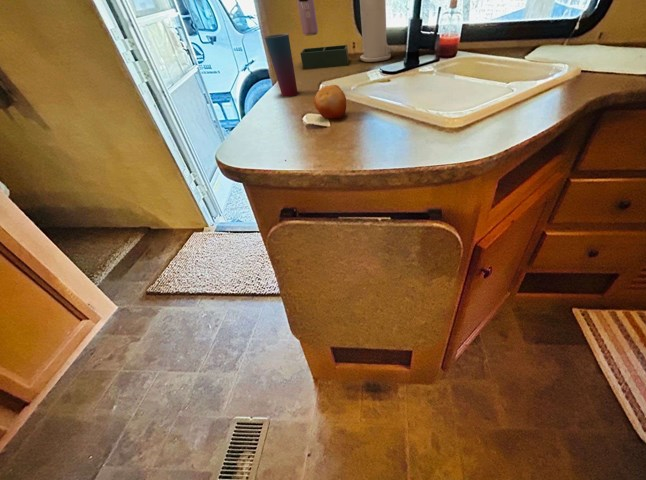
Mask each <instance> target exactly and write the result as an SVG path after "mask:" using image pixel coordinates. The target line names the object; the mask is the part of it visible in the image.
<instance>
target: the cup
mask: <svg viewBox="0 0 646 480" xmlns="http://www.w3.org/2000/svg"><path fill="white" fill-rule="evenodd" d="M264 40H265V44H266V47H267V50H268V53H269V57H270V60H271V63H272V66H273V70H274V73H275V78H276V80H277V83H278V87H279V90H280V94H281V96H282V97H285V98H286V97H295V96H296V95H298V87H297V86H298V85H297V80H296V73H295V67H294V60H293V55H292V48H291V42H290V35H289V33H285V32H284V33H273V34H268V35H265V36H264Z"/></svg>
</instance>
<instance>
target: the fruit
mask: <svg viewBox="0 0 646 480" xmlns="http://www.w3.org/2000/svg"><path fill="white" fill-rule="evenodd" d="M313 104H314V107H315V109H316V111H317V112H318V113H319V115H320V116H321V117H322V118H323V119H325V120H335V119H336V120H337V119H342V118H343V117H344V116H345V114H346V111H347V97H346V94H345V93H344V90H343V89H342V88H341V87H340V86H338V85H337V84H331V85H325V86H323V87H321V88H320V89H319V90H318V91H317V92H316V94H315V96H314V100H313Z"/></svg>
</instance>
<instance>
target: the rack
mask: <svg viewBox="0 0 646 480" xmlns="http://www.w3.org/2000/svg"><path fill="white" fill-rule="evenodd" d="M348 50H349V49H348V44H342V45H330V46H329V45H328V46H320V47H319V46H318V47H309V48H303V49H302V51H300V53H299V54H300V60H301V65H302V69H303V70H310V69H311V70H312V69H313V70H314V69H322V68H323V69H324V68H335V67H347V66H349V61H350V59H349V51H348Z"/></svg>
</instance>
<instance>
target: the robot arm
mask: <svg viewBox="0 0 646 480" xmlns="http://www.w3.org/2000/svg"><path fill="white" fill-rule="evenodd" d="M299 1H300V2H304V1H308V0H299ZM386 3H387V2H386V0H359V11H360V24H361V37H362V38H361V40H362V51H363V53H362V54H361V55H360V56H359V61H361V62H364V63H375V62H382V61H388V60H390V59H391V58H392V54H391V53H399V46H398V45H389V44H388V42H387V41H388V40H387V12H386V11H387V9H386V7H387V4H386Z"/></svg>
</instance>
